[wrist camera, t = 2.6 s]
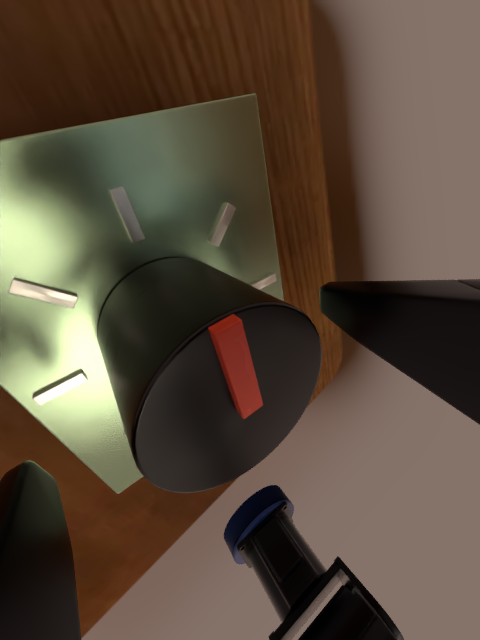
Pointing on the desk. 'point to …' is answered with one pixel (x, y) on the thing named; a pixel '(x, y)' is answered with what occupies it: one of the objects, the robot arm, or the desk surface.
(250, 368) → the pointer wheel
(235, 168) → the dial panel
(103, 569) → the desk surface
